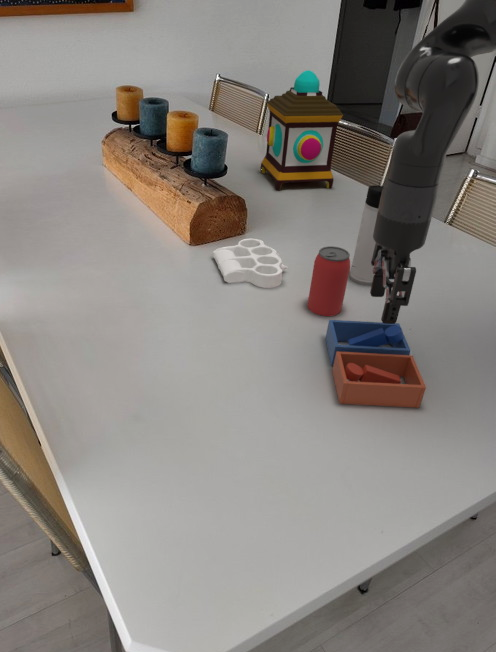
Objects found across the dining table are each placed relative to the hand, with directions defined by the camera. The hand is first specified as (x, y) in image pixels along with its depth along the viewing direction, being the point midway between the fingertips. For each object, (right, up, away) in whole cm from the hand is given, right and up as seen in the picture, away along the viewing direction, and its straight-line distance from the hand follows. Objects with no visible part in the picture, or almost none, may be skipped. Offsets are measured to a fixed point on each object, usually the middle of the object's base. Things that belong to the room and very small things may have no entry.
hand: (382, 308), depth 88 cm
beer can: (-6, +2, +18) cm, 19 cm away
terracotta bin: (-2, -13, -2) cm, 14 cm away
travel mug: (+5, +9, +28) cm, 30 cm away
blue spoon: (+1, -5, +4) cm, 7 cm away
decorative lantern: (-3, +48, +77) cm, 91 cm away
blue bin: (-1, -7, +6) cm, 10 cm away
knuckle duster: (-19, +12, +30) cm, 38 cm away
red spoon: (-3, -12, -3) cm, 12 cm away
